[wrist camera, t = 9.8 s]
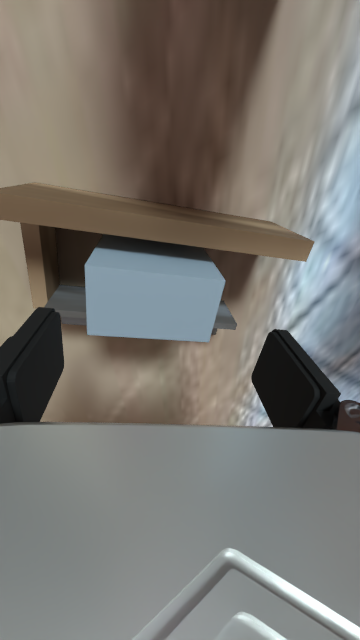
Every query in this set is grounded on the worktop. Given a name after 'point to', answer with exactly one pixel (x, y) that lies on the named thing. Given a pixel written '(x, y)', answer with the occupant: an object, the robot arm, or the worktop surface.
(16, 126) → the worktop surface
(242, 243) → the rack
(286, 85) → the worktop surface
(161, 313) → the blue grey rectangular block
